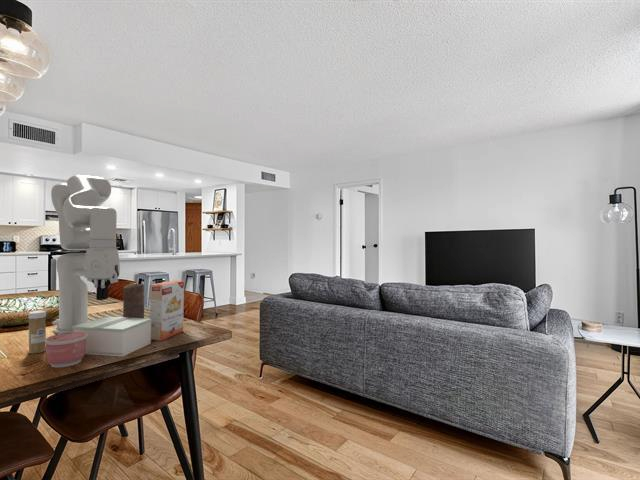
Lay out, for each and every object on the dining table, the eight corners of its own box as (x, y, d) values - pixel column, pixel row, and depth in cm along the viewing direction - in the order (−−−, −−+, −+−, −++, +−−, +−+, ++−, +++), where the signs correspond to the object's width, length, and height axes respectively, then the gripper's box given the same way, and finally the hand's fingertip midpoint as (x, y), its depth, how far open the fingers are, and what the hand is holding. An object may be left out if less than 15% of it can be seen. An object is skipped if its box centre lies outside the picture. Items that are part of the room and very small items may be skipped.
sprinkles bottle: (36, 354, 112) (36, 313, 112) (24, 353, 113) (24, 312, 113) (49, 349, 117) (49, 310, 117) (38, 349, 117) (38, 309, 117)
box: (73, 353, 114) (73, 329, 114) (106, 340, 128) (106, 319, 127) (122, 356, 111) (122, 331, 111) (150, 343, 125) (150, 321, 125)
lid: (72, 329, 113) (72, 326, 113) (106, 318, 128) (106, 316, 128) (122, 332, 110) (122, 329, 110) (151, 321, 125) (151, 318, 125)
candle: (140, 337, 131) (140, 285, 131) (119, 338, 130) (119, 285, 130) (146, 332, 139) (147, 283, 139) (127, 333, 138) (127, 283, 138)
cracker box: (162, 341, 127) (162, 285, 127) (147, 340, 128) (148, 284, 128) (184, 331, 141) (184, 280, 141) (171, 330, 142) (171, 280, 142)
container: (81, 354, 113) (81, 330, 113) (91, 362, 106) (91, 336, 106) (41, 363, 105) (41, 337, 105) (49, 372, 98) (49, 344, 98)
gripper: (73, 244, 112) (72, 300, 112) (114, 245, 109) (113, 303, 110) (92, 243, 119) (91, 295, 120) (131, 244, 117) (130, 298, 117)
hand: (102, 299), depth 115 cm, fingers closed
